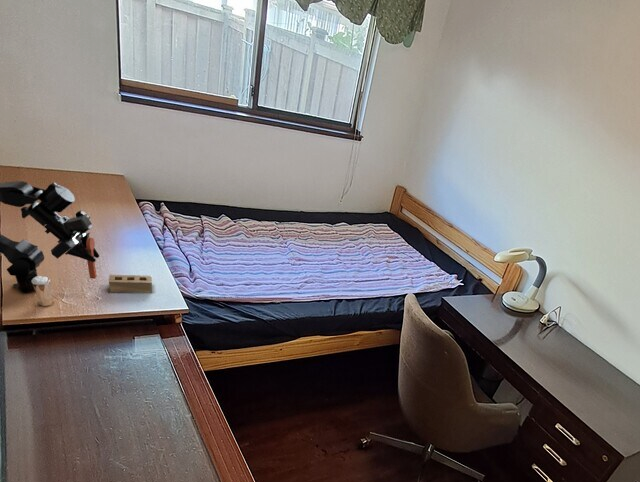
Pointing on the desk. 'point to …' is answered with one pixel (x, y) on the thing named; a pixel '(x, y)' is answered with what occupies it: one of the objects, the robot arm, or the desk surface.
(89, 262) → the orange piece
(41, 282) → the milkshake
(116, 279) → the utensil rack
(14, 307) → the desk surface
